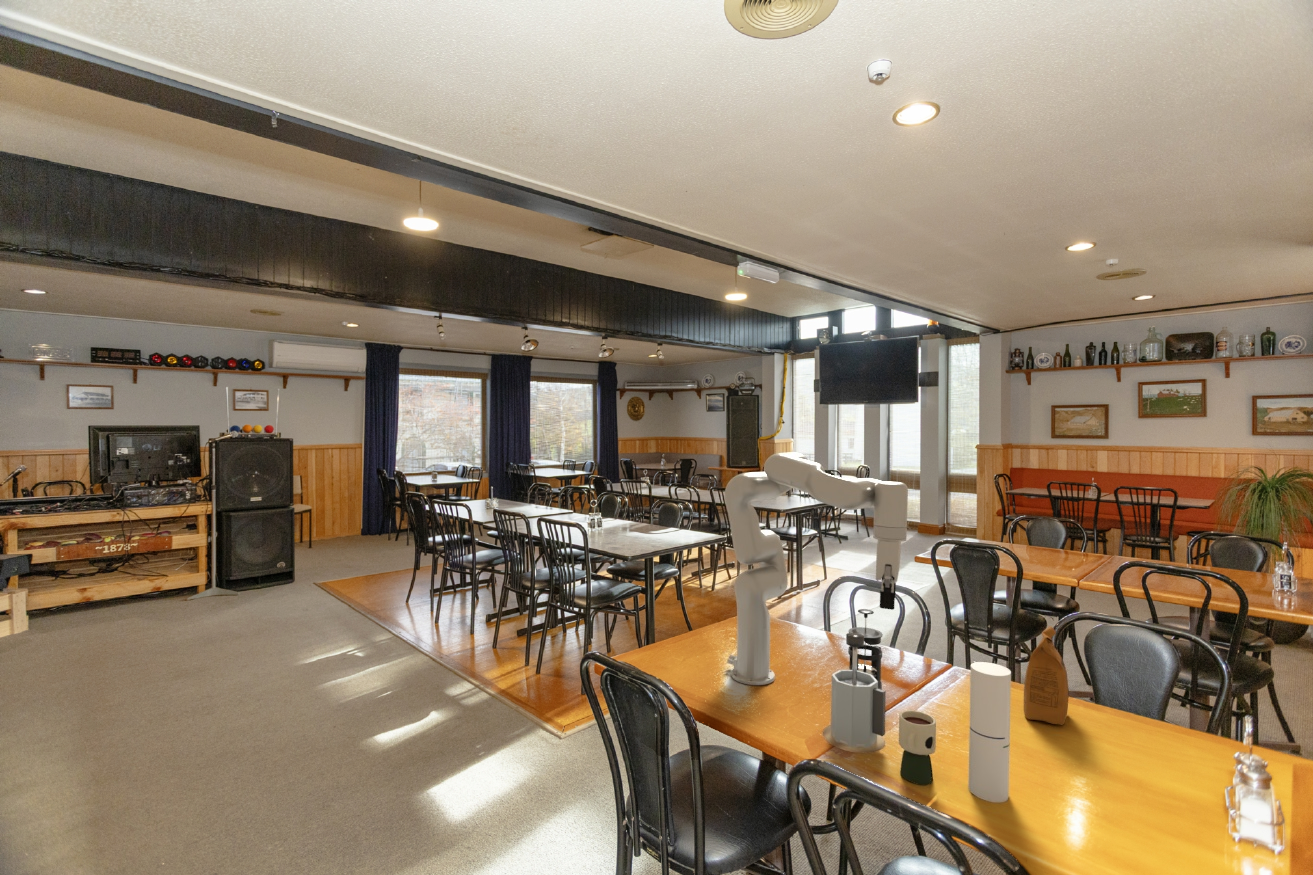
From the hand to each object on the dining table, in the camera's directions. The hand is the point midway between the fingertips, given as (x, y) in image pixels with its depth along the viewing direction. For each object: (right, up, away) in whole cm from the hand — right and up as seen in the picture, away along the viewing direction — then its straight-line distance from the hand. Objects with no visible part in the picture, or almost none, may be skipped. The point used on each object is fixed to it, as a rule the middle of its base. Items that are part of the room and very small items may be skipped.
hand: (887, 602), depth 149 cm
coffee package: (+44, -32, +9) cm, 55 cm away
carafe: (-9, -30, -5) cm, 32 cm away
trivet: (-10, -31, -5) cm, 33 cm away
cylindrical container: (+11, -32, -25) cm, 42 cm away
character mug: (-2, -31, -21) cm, 38 cm away
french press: (+2, -31, +22) cm, 38 cm away
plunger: (-10, -19, -5) cm, 22 cm away
